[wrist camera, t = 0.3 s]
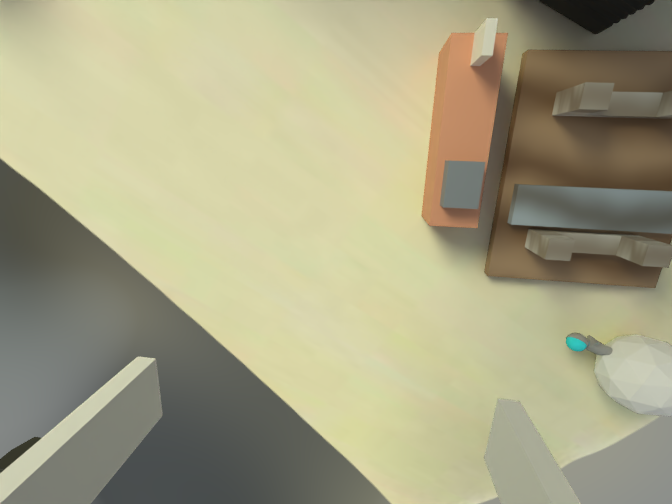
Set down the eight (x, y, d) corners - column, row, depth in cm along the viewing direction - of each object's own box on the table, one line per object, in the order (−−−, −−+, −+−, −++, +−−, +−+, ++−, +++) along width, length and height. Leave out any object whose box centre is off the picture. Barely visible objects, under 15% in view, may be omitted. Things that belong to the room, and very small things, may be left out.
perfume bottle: (644, 425, 37) (537, 378, 38) (652, 355, 39) (551, 313, 41) (723, 439, 29) (587, 380, 31) (726, 351, 32) (600, 300, 33)
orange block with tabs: (438, 53, 32) (461, 18, 24) (485, 53, 32) (524, 18, 24) (421, 215, 37) (435, 232, 29) (462, 217, 36) (487, 235, 28)
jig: (522, 53, 31) (553, 32, 26) (719, 56, 30) (796, 33, 24) (484, 272, 38) (502, 291, 32) (646, 283, 36) (693, 305, 31)
